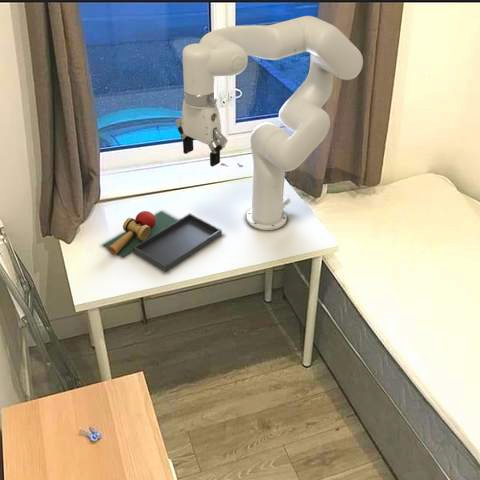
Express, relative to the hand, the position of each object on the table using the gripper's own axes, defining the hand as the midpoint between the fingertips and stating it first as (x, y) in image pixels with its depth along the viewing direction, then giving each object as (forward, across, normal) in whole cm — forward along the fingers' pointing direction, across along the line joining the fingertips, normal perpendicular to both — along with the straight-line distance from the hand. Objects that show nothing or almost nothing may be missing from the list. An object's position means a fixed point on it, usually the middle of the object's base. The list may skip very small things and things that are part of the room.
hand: (201, 158), depth 160 cm
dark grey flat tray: (+28, +5, +6) cm, 29 cm away
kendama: (+28, +16, +13) cm, 35 cm away
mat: (+28, +17, +9) cm, 34 cm away
